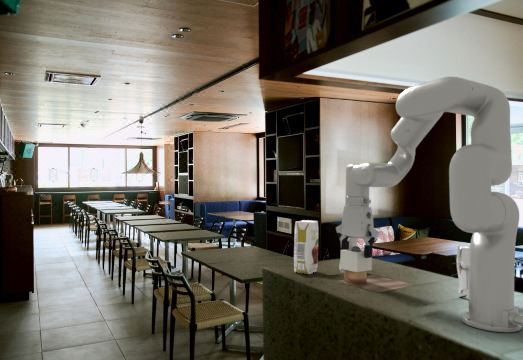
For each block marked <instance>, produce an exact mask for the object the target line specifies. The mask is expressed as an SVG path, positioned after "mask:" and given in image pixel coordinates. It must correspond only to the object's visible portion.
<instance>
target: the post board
mask: <svg viewBox="0 0 523 360" xmlns="http://www.w3.org/2000/svg"><path fill="white" fill-rule="evenodd" d="M361 250H362V249H361V247H359V246H358V245H356V246H354V247H352V249H351V251H352V252H361ZM367 273H368V271H363V272H353V271H349V270H345V273H344V278H343V279H339V280H337V282H339V283H343V284H346V285H351V286H354V287H358V288H360V289H364V290H365V289H366V290H369V291H371V292H376V293H382V292H387V291H392V290H397V289H401V288H402V289H403V288H408V287H412V286H415V284H413V283H409V282H405V281H400V280H396V279H392V278H386V277H383V276H378V275H373V274H370V275H368V274H367Z"/></svg>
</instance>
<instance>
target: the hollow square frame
mask: <svg viewBox="0 0 523 360" xmlns="http://www.w3.org/2000/svg"><path fill="white" fill-rule="evenodd" d="M339 258H340V260H339V264H340V269H345V270H349V271H353V272H363V271H367V272H368V271H372V270H373V262H372V261H373V256H372V257H371V258H364V249H361V252H352V251H351V249H346V250H341V249H340V257H339ZM340 269H339V270H340Z"/></svg>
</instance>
